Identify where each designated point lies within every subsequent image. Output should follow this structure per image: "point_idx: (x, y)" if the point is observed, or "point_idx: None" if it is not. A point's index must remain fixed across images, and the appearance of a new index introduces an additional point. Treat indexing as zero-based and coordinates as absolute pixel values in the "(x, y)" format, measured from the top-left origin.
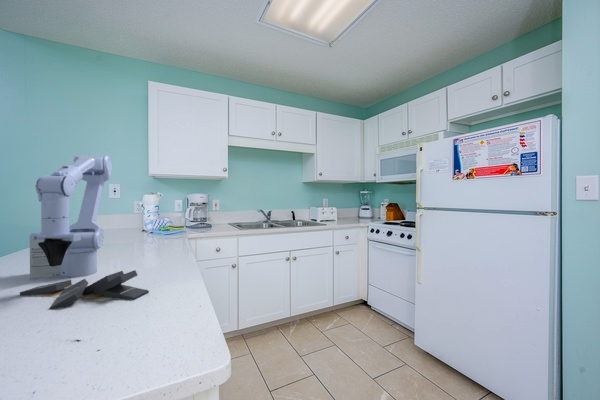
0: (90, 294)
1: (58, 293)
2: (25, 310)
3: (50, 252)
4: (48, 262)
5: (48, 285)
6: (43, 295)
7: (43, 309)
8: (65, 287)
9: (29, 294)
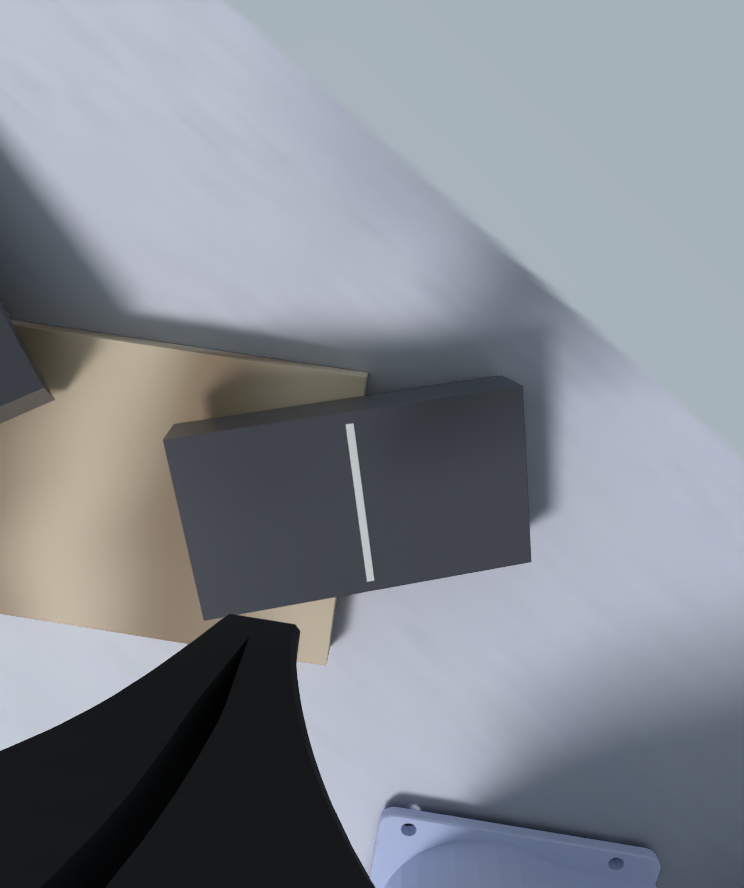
0: None
1: None
2: (189, 136)
3: (119, 741)
4: (287, 646)
5: (325, 497)
6: (283, 386)
7: (57, 163)
8: None
9: (425, 390)
